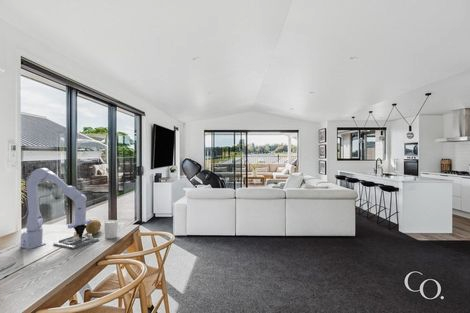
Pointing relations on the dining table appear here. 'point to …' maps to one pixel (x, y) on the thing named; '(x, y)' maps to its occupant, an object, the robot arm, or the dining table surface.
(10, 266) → the dining table surface
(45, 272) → the dining table surface
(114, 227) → the white cup
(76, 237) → the breaker
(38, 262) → the dining table surface
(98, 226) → the potato
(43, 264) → the dining table surface
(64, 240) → the panel
